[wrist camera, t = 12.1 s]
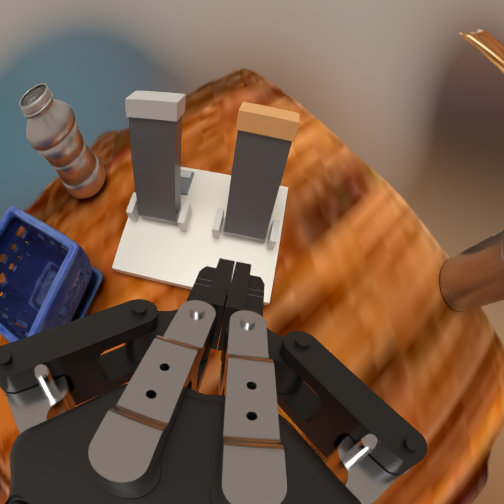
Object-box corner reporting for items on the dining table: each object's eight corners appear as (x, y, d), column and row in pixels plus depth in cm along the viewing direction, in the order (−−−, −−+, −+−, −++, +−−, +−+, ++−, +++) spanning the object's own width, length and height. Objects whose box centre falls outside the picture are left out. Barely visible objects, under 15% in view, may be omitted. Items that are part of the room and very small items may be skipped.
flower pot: (52, 235, 37) (9, 199, 26) (118, 273, 36) (79, 243, 25) (15, 312, 33) (-37, 296, 21) (77, 361, 32) (26, 361, 21)
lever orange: (225, 224, 38) (243, 101, 25) (266, 232, 38) (299, 113, 26) (221, 237, 36) (238, 110, 24) (264, 246, 36) (299, 122, 24)
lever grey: (144, 208, 37) (136, 90, 25) (182, 215, 38) (185, 94, 25) (137, 220, 36) (125, 98, 23) (177, 228, 36) (177, 102, 24)
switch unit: (152, 169, 41) (145, 150, 37) (285, 194, 42) (292, 176, 38) (117, 271, 36) (104, 261, 32) (267, 305, 37) (273, 299, 32)
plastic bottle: (117, 182, 40) (68, 84, 21) (84, 212, 38) (15, 127, 19) (96, 160, 41) (49, 67, 22) (65, 188, 39) (3, 105, 20)
